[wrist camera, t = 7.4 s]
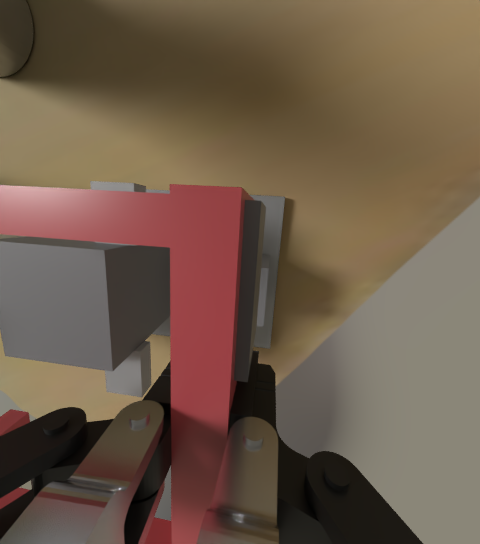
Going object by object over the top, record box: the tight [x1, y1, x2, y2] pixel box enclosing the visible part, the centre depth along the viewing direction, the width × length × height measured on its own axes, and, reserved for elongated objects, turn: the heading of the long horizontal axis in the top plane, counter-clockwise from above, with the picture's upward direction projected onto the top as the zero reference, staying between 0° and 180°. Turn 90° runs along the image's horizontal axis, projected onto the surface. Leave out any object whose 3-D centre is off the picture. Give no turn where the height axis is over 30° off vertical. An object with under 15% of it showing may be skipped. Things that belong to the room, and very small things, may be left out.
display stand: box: [0, 181, 285, 397], centre depth 22 cm, size 19×17×14 cm
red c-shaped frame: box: [0, 184, 266, 544], centre depth 10 cm, size 14×14×5 cm
